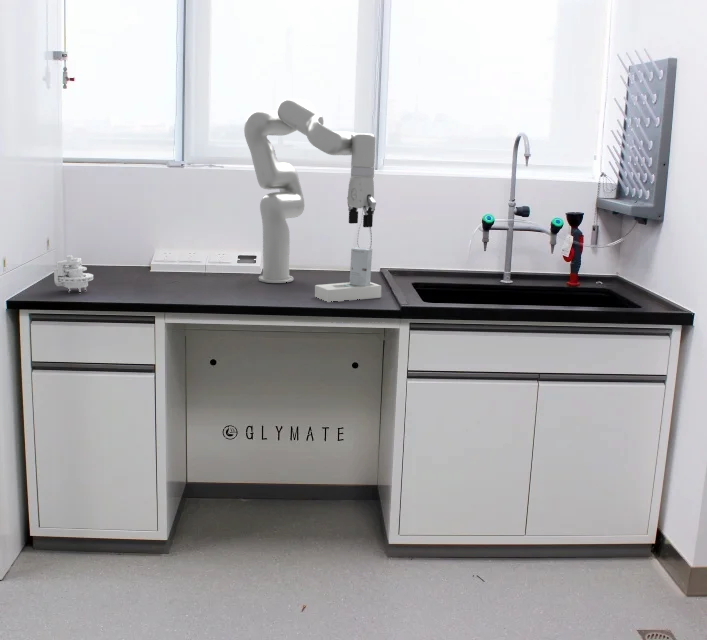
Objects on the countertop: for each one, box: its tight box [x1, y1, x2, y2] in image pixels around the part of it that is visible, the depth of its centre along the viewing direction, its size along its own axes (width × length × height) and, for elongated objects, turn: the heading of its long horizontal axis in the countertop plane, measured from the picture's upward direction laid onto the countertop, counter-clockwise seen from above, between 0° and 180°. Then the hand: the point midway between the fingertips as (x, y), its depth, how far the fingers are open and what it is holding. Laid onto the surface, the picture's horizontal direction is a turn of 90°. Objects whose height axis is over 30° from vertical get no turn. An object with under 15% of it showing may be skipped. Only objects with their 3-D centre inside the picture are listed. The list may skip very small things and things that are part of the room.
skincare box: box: [349, 246, 373, 286], centre depth 262 cm, size 6×4×12 cm
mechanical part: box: [53, 254, 94, 293], centre depth 258 cm, size 11×12×12 cm
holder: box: [314, 281, 382, 303], centre depth 261 cm, size 9×20×4 cm, turn 119°
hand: (360, 225), depth 260 cm, fingers open, 9 cm apart
